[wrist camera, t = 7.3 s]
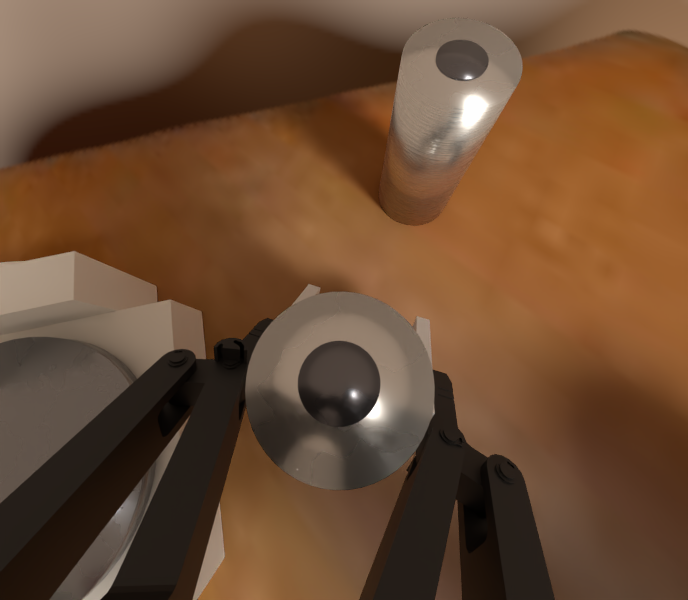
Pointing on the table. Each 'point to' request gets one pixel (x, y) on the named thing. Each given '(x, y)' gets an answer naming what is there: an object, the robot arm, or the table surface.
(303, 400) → the silver metal cylinder
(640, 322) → the table surface
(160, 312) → the scale
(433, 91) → the cylinder
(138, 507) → the scale pan
